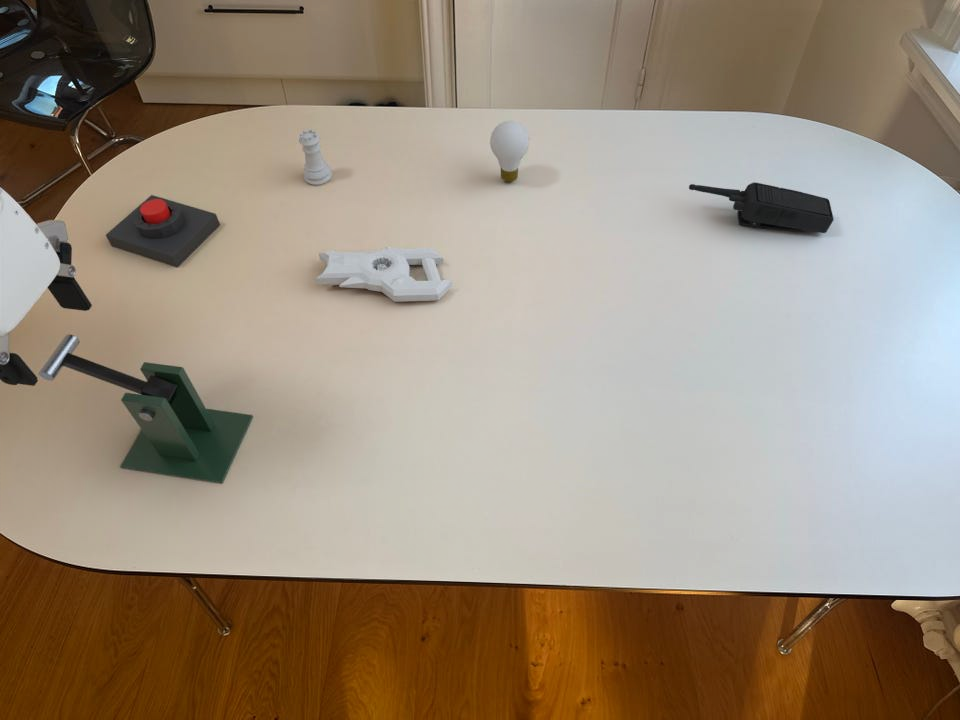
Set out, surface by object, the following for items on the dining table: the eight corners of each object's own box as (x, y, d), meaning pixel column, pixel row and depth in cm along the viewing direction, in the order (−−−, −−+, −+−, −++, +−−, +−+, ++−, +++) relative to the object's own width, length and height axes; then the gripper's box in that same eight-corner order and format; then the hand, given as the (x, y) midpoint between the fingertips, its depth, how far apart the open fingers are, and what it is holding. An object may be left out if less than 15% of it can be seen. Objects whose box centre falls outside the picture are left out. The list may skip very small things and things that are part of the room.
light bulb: (510, 164, 114) (511, 108, 106) (535, 181, 111) (538, 125, 103) (482, 179, 111) (481, 122, 104) (507, 197, 108) (508, 140, 101)
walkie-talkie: (832, 236, 98) (689, 212, 99) (814, 239, 104) (680, 216, 105) (842, 191, 97) (698, 168, 98) (824, 197, 103) (688, 175, 104)
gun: (312, 291, 91) (317, 241, 97) (316, 310, 93) (321, 259, 100) (453, 287, 92) (449, 238, 99) (453, 306, 95) (449, 256, 101)
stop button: (139, 221, 101) (134, 211, 100) (156, 206, 103) (151, 196, 102) (159, 227, 100) (154, 217, 99) (175, 212, 102) (171, 202, 101)
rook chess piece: (299, 183, 112) (287, 139, 105) (312, 167, 114) (301, 123, 108) (324, 188, 111) (314, 144, 104) (337, 172, 113) (328, 128, 107)
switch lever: (39, 379, 70) (37, 367, 68) (66, 342, 73) (65, 329, 71) (160, 423, 73) (162, 412, 71) (182, 385, 76) (183, 374, 74)
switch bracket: (124, 472, 79) (75, 411, 70) (160, 407, 84) (119, 343, 75) (225, 487, 77) (188, 427, 68) (255, 420, 83) (225, 356, 74)
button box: (111, 246, 103) (99, 225, 100) (156, 206, 109) (146, 184, 106) (177, 267, 100) (167, 246, 97) (220, 225, 105) (212, 203, 102)
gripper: (-31, 136, 62) (64, 278, 75) (-180, 272, 51) (-38, 409, 64) (46, 143, 61) (129, 285, 74) (-90, 282, 50) (36, 419, 63)
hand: (51, 342), depth 69 cm, fingers open, 9 cm apart
